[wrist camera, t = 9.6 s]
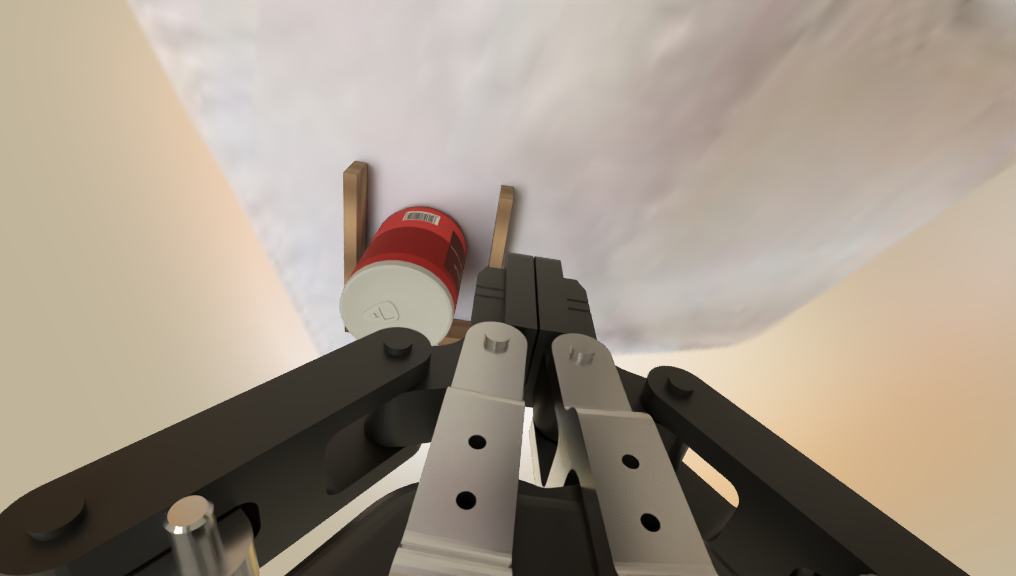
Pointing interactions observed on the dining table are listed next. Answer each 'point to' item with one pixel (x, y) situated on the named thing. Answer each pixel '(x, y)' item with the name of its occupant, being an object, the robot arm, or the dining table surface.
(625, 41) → the dining table surface
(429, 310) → the canned food
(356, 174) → the corral
